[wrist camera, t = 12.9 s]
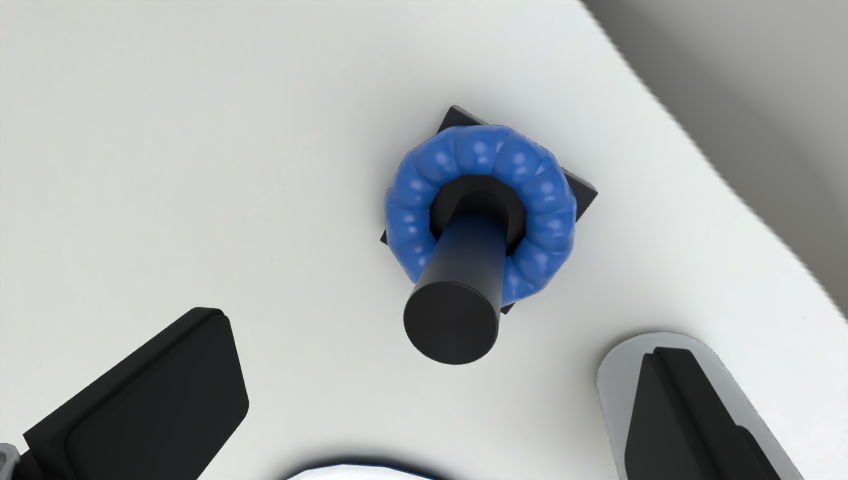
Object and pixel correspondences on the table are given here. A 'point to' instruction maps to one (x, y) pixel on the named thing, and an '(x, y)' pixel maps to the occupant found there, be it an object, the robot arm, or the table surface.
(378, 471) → the plate
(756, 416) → the beverage can
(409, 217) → the ring
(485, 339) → the peg stand
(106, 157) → the table surface
